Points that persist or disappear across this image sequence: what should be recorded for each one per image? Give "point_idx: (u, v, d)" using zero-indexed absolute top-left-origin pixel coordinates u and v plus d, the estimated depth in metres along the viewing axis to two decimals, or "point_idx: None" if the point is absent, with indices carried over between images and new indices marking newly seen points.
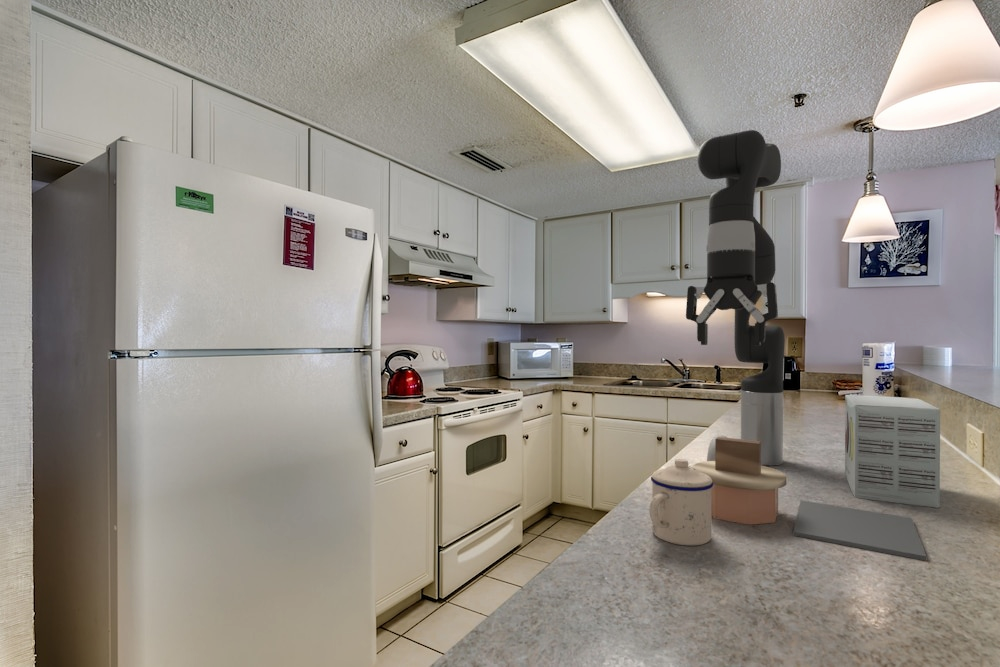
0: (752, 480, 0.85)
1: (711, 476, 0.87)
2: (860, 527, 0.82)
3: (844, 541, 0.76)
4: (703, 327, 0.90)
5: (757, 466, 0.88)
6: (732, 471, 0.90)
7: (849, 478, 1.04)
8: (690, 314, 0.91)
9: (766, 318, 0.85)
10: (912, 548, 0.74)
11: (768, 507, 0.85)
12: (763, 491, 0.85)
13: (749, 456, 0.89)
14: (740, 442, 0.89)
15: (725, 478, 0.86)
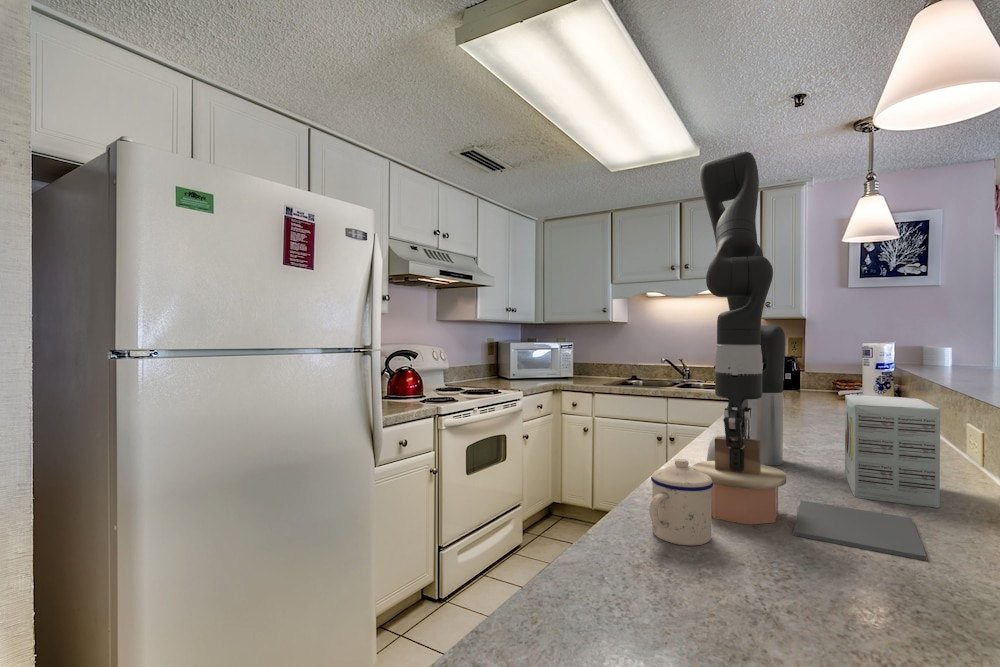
0: (752, 479, 0.85)
1: (711, 476, 0.87)
2: (860, 527, 0.82)
3: (844, 541, 0.76)
4: (743, 453, 0.89)
5: (757, 465, 0.88)
6: (732, 470, 0.90)
7: (849, 478, 1.04)
8: (742, 442, 0.87)
9: None
10: (912, 548, 0.74)
11: (768, 507, 0.85)
12: (763, 491, 0.85)
13: (748, 455, 0.89)
14: None
15: (725, 478, 0.86)
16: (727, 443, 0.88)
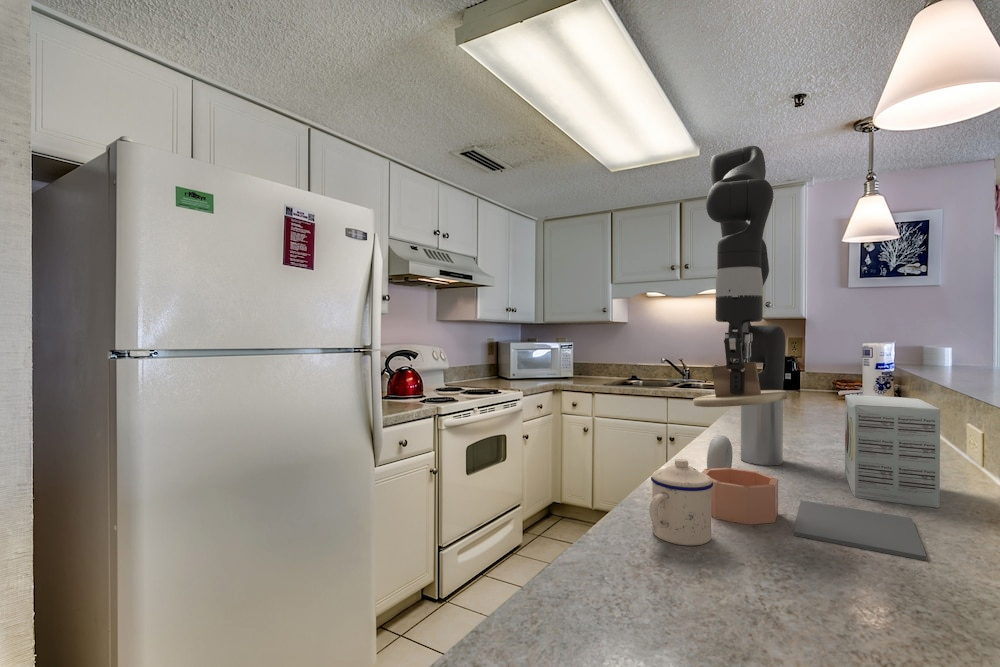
0: (752, 397, 0.85)
1: (712, 400, 0.87)
2: (860, 527, 0.82)
3: (844, 541, 0.76)
4: None
5: (756, 385, 0.88)
6: (732, 395, 0.90)
7: (849, 478, 1.04)
8: (743, 364, 0.87)
9: None
10: (912, 548, 0.74)
11: (768, 507, 0.85)
12: (763, 491, 0.85)
13: (746, 377, 0.89)
14: None
15: (726, 399, 0.86)
16: (727, 365, 0.88)
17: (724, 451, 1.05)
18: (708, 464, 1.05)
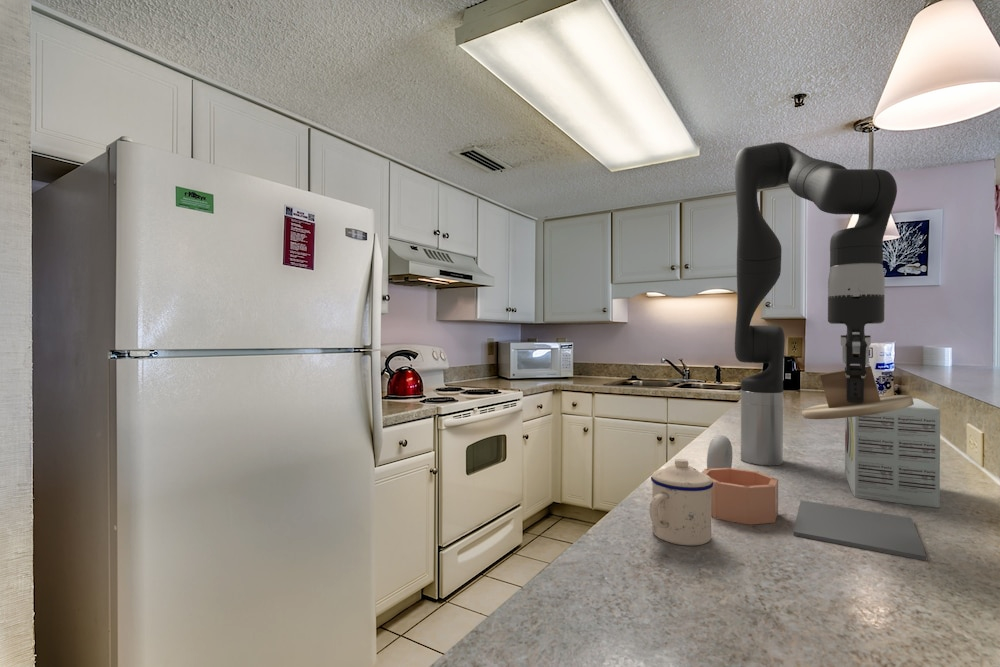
0: (877, 404, 0.78)
1: (830, 411, 0.80)
2: (860, 527, 0.82)
3: (844, 541, 0.76)
4: (863, 383, 0.81)
5: (876, 391, 0.81)
6: (849, 404, 0.83)
7: (849, 478, 1.04)
8: None
9: None
10: (912, 548, 0.74)
11: (768, 507, 0.85)
12: (763, 491, 0.85)
13: None
14: None
15: (847, 409, 0.78)
16: (848, 371, 0.80)
17: (724, 451, 1.05)
18: (708, 464, 1.05)
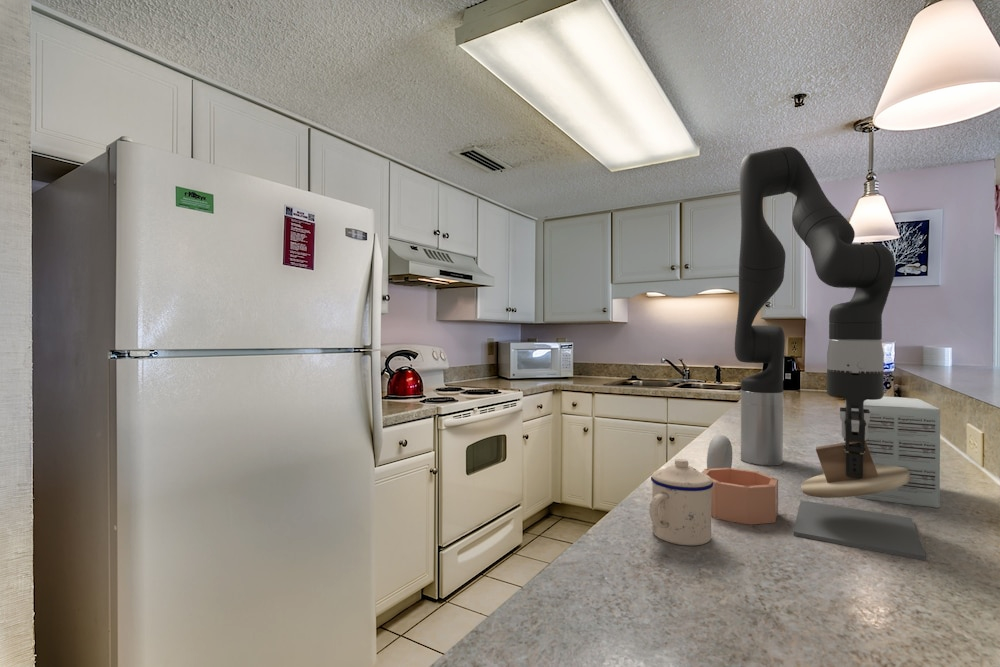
0: (875, 482, 0.78)
1: (829, 490, 0.80)
2: (860, 527, 0.82)
3: (844, 541, 0.76)
4: None
5: (872, 466, 0.81)
6: (847, 479, 0.83)
7: None
8: None
9: None
10: (912, 548, 0.74)
11: (768, 507, 0.85)
12: (763, 491, 0.85)
13: None
14: (844, 445, 0.83)
15: (845, 488, 0.78)
16: (847, 447, 0.80)
17: (724, 451, 1.05)
18: (708, 464, 1.05)
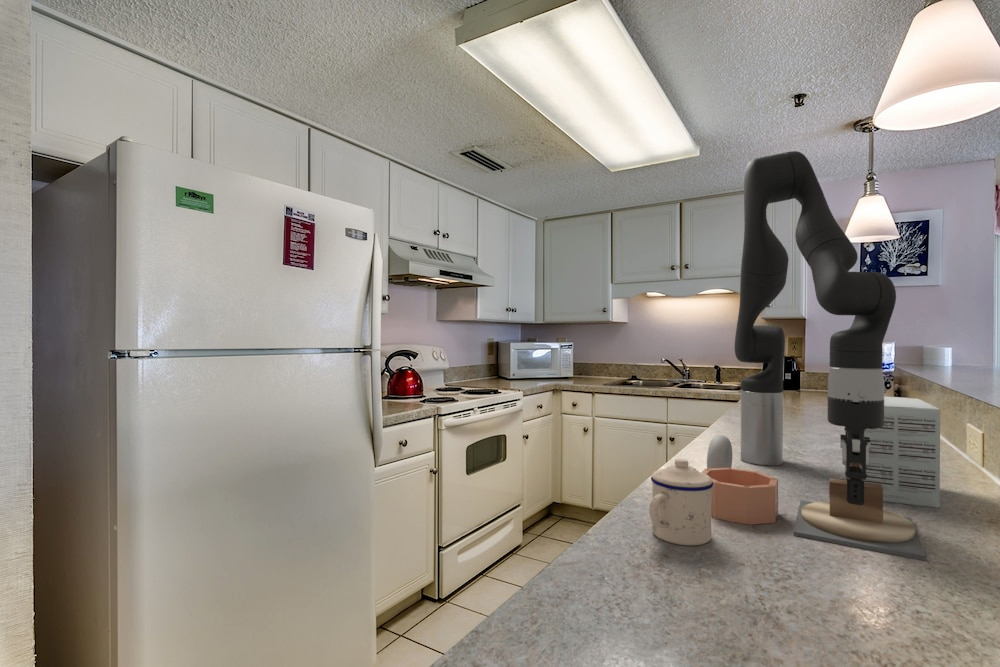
0: (881, 530, 0.77)
1: (832, 526, 0.80)
2: None
3: (844, 541, 0.76)
4: None
5: (881, 513, 0.80)
6: (850, 518, 0.82)
7: None
8: None
9: None
10: (912, 548, 0.74)
11: (768, 507, 0.85)
12: (763, 491, 0.85)
13: (870, 502, 0.81)
14: None
15: (850, 529, 0.78)
16: (848, 471, 0.78)
17: (724, 451, 1.05)
18: (708, 464, 1.05)
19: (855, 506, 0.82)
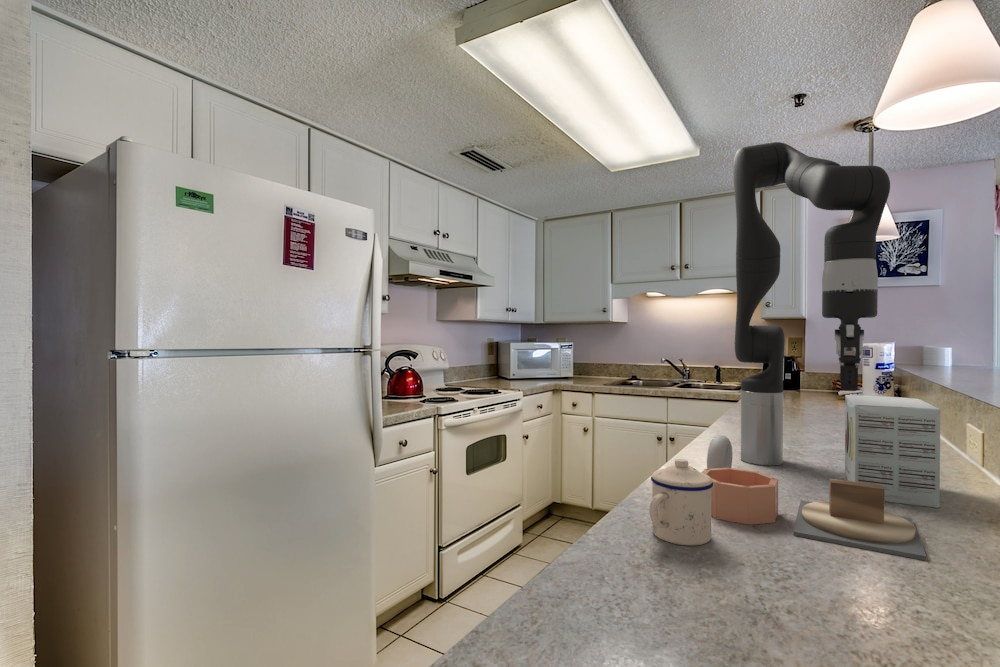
0: (883, 531, 0.77)
1: (835, 526, 0.79)
2: None
3: (844, 541, 0.76)
4: None
5: (882, 513, 0.80)
6: (851, 518, 0.82)
7: (849, 478, 1.04)
8: (859, 357, 0.79)
9: None
10: (912, 548, 0.74)
11: (768, 507, 0.85)
12: (763, 491, 0.85)
13: (872, 502, 0.81)
14: (861, 487, 0.82)
15: (853, 530, 0.78)
16: (842, 356, 0.79)
17: (724, 451, 1.05)
18: (708, 464, 1.05)
19: (856, 506, 0.82)
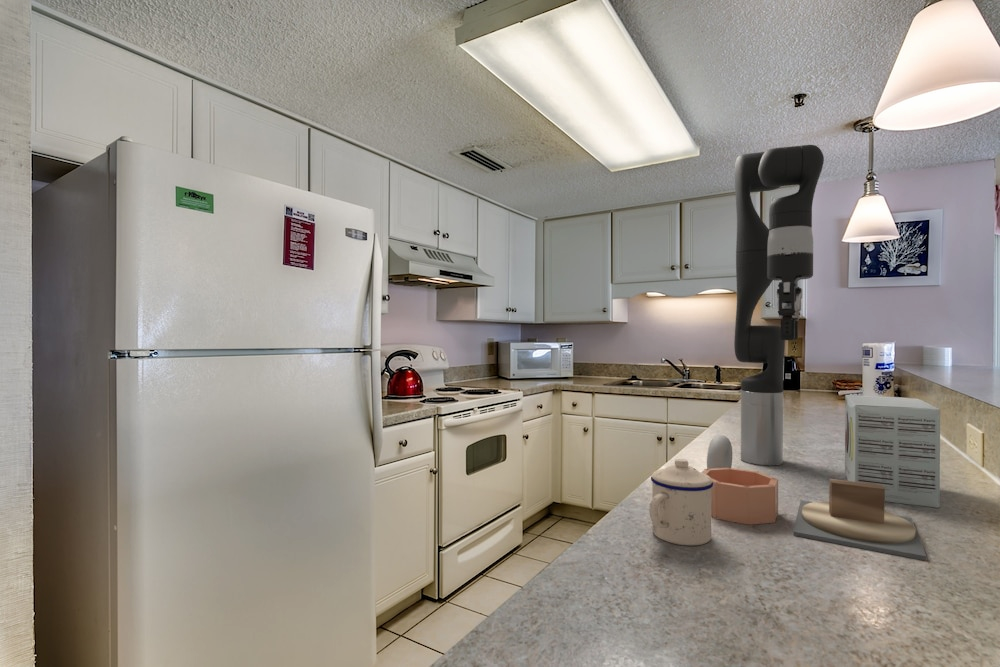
0: (885, 531, 0.77)
1: (838, 527, 0.79)
2: None
3: (844, 541, 0.76)
4: (794, 323, 0.93)
5: (882, 513, 0.80)
6: (852, 518, 0.82)
7: (849, 478, 1.04)
8: (794, 310, 0.91)
9: None
10: (912, 548, 0.74)
11: (768, 507, 0.85)
12: (763, 491, 0.85)
13: (872, 502, 0.81)
14: (862, 487, 0.82)
15: (856, 530, 0.78)
16: (780, 309, 0.92)
17: (724, 451, 1.05)
18: (708, 464, 1.05)
19: (857, 506, 0.82)
